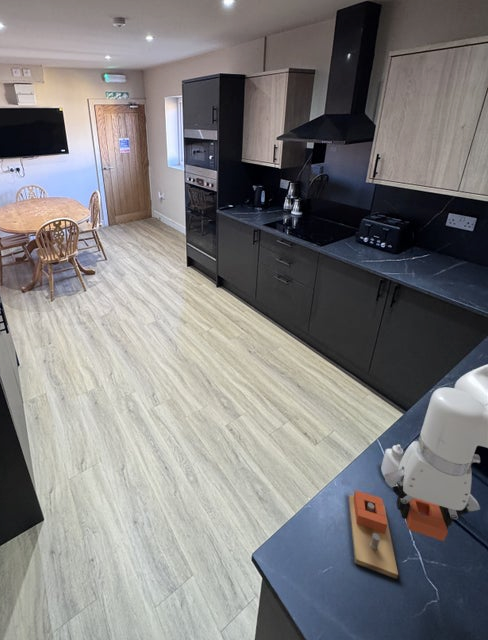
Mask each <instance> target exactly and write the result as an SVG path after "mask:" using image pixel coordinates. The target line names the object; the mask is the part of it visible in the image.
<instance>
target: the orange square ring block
mask: <svg viewBox="0 0 488 640" xmlns="http://www.w3.org/2000/svg"><path fill="white" fill-rule="evenodd" d="M409 504H410V509H409V512H408V516H407V519H405V523H406V527H407V530H408V531H412V532H415V533H416V534H417V533H418V534H420V535H424V536H425V537H426V536H427V537H429V538H433V539H435V540H439V541H441V542H445V540H446V538H447V535H448V533H449V532H448V531H449V530H447V527H446V524H445V522H444V519H443V516H442V513H441V510H440V507H439V505H436V504H433V503H429V502H426V501H423V500H420V499H416V498H414V499H412V500H411V501H410V502H409Z"/></svg>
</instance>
